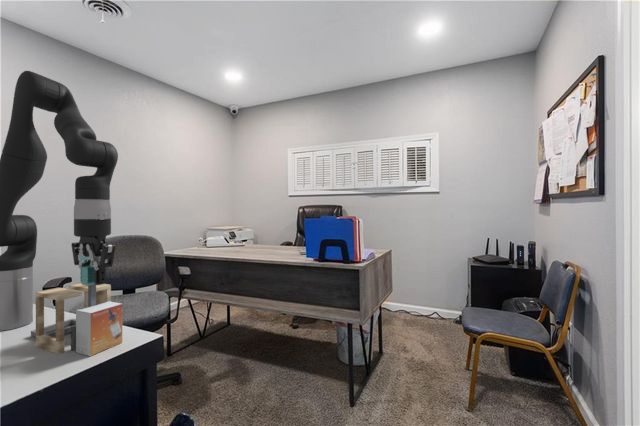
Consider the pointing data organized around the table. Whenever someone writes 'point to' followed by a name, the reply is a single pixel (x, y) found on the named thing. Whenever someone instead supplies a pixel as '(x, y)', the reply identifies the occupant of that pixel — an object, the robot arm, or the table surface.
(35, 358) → the table surface
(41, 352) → the table surface
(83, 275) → the slider
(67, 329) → the tray
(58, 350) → the tunnel
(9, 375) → the table surface
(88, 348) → the small box
